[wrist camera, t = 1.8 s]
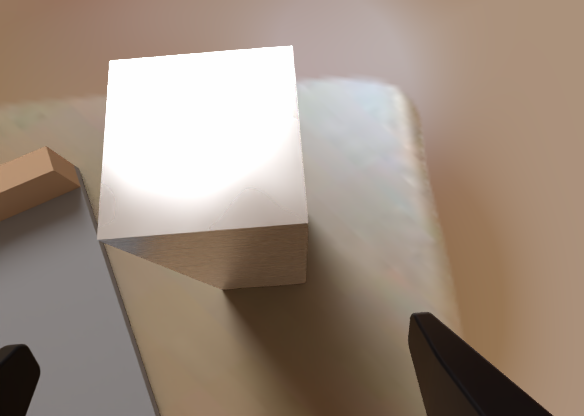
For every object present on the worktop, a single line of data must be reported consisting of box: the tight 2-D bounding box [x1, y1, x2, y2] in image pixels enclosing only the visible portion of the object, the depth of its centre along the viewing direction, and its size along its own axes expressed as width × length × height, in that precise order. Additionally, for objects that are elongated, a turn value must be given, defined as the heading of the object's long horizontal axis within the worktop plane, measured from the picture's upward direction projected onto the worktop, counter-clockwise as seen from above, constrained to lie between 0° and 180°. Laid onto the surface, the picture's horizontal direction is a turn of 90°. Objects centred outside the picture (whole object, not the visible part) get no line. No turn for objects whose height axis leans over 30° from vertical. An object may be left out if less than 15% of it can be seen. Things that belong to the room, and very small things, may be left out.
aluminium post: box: [97, 46, 308, 290], centre depth 15 cm, size 4×4×13 cm
